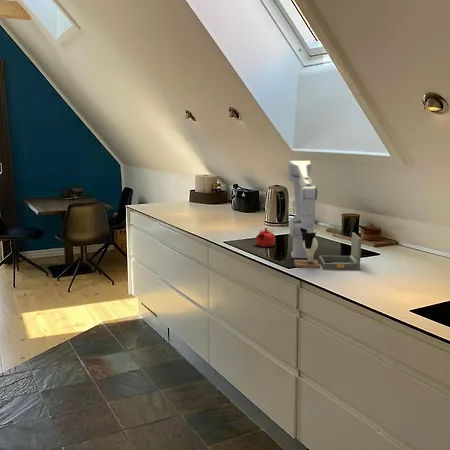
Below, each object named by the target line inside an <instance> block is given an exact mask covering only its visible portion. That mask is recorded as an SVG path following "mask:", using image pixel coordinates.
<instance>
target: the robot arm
mask: <svg viewBox="0 0 450 450" xmlns="http://www.w3.org/2000/svg"><path fill="white" fill-rule="evenodd" d="M287 167H288V169H287V170H288V179H289V181H291V182H292V183H293V189H294V190H293V193H294V207H295V208H294V211H295V216H293V217H292V218H291V219H290V222H289V235H290V236H291V237H292V252H290V255H291V257H292V259H307V253H306V251H305V249H304V248H303V241H305V248H306V249H311V246H312V242H313V239H314V238H315V236H317V235H316V234H317V232H314V229H315V228H318V225H317V224H315V223H316V201H317V199H318V188H317V186H316V185H314V183H313V182H314V181H313V179H312V178H311V173H312V162H311V160H289V161H288V166H287Z"/></svg>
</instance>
